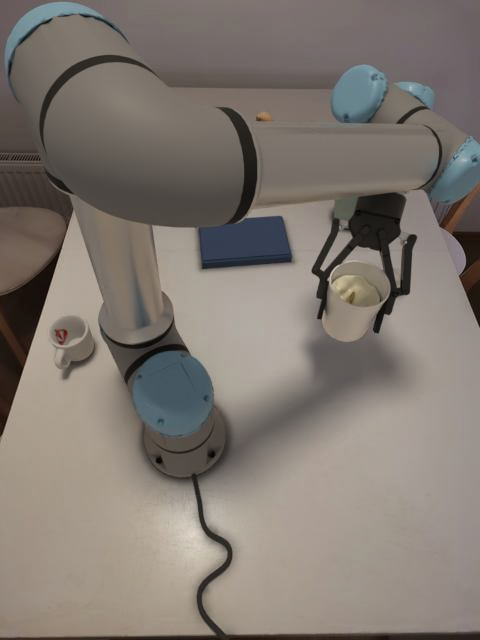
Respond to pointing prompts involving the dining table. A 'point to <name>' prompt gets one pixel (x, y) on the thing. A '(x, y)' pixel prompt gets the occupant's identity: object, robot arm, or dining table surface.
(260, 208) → the robot arm
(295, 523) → the dining table surface
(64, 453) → the dining table surface
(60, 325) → the cup
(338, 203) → the disposable coffee cup
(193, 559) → the dining table surface
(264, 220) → the blue book
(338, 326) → the candle holder
